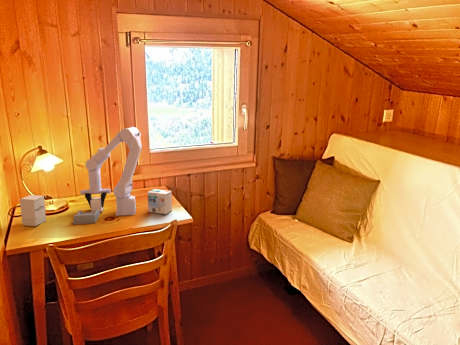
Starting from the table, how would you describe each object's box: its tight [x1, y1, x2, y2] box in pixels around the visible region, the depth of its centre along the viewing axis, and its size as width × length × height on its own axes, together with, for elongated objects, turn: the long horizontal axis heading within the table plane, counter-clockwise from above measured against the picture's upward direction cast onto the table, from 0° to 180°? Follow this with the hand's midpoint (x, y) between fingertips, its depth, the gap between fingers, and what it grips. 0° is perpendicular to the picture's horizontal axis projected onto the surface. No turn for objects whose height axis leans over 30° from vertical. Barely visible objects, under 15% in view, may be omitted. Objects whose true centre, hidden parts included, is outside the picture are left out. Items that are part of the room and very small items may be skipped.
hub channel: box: [72, 209, 101, 225], centre depth 177 cm, size 10×14×4 cm
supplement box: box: [19, 194, 47, 227], centre depth 170 cm, size 7×7×13 cm
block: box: [90, 196, 104, 212], centre depth 188 cm, size 5×5×6 cm
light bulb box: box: [147, 188, 173, 215], centre depth 189 cm, size 11×7×11 cm, turn 70°
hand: (96, 207), depth 188 cm, fingers closed on block, 5 cm apart
